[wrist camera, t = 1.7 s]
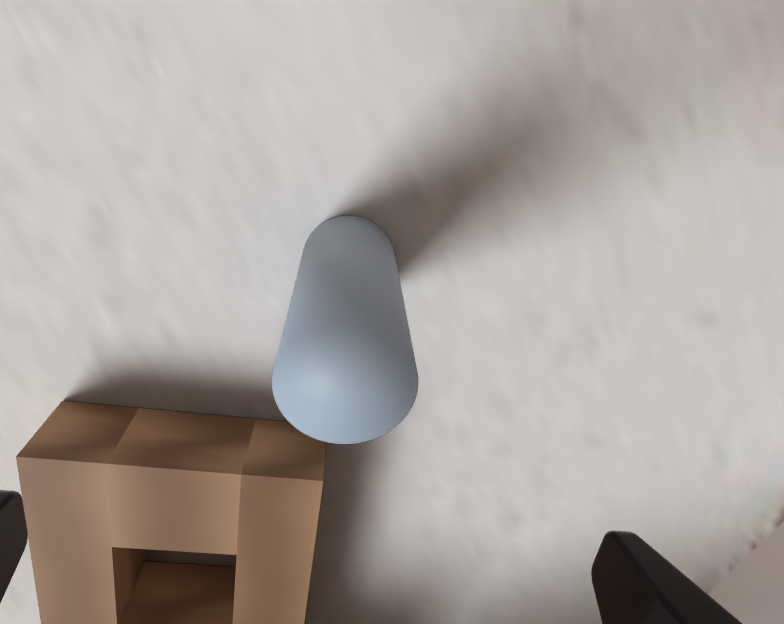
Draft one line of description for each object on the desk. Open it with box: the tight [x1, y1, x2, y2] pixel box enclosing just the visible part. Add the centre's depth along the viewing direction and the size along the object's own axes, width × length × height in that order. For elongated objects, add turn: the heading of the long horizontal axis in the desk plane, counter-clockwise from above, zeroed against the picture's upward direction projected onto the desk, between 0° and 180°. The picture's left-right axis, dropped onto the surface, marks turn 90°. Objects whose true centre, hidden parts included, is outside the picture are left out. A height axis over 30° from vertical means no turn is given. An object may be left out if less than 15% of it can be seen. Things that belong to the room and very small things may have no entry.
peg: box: [272, 215, 418, 444], centre depth 16 cm, size 3×3×8 cm
